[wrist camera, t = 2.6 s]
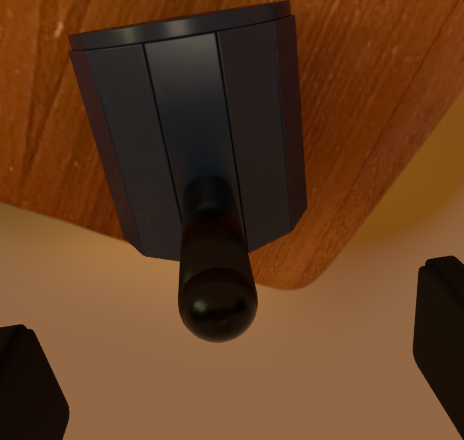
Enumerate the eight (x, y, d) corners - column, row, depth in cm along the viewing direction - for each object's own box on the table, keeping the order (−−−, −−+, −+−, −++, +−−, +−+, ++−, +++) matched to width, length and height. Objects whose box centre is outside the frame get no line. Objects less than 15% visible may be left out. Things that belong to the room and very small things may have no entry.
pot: (137, 192, 28) (63, 437, 12) (94, 30, 24) (-121, 71, 7) (284, 168, 28) (408, 378, 12) (269, 2, 24) (436, -17, 8)
